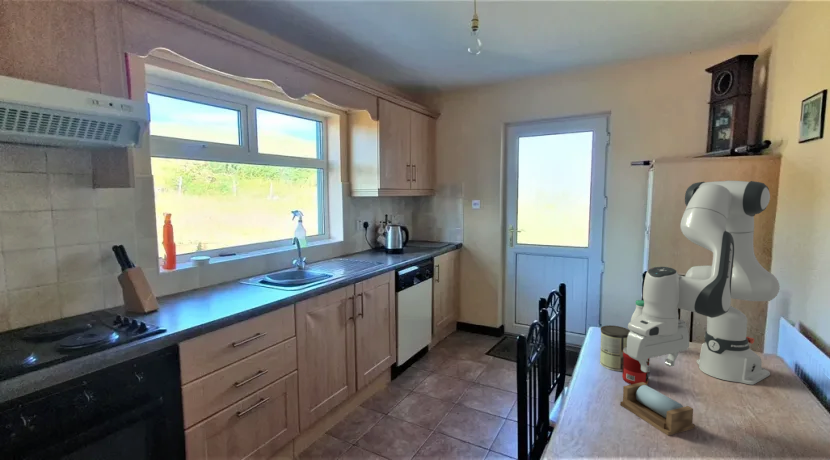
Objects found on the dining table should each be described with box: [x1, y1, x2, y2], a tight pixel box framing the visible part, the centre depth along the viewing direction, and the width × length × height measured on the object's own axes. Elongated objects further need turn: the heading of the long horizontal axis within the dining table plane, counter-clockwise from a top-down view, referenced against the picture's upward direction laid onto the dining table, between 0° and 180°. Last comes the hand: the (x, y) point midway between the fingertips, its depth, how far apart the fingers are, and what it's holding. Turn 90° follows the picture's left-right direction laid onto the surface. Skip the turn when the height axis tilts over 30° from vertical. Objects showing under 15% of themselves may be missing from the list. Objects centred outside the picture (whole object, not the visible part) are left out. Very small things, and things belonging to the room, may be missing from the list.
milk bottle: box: [630, 299, 644, 331], centre depth 162 cm, size 8×8×20 cm
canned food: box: [621, 347, 651, 385], centre depth 133 cm, size 8×8×11 cm
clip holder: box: [619, 382, 696, 437], centre depth 113 cm, size 10×16×6 cm, turn 18°
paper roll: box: [636, 384, 684, 418], centre depth 113 cm, size 6×11×6 cm, turn 18°
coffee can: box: [599, 325, 630, 372], centre depth 145 cm, size 10×10×14 cm
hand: (657, 368), depth 112 cm, fingers open, 8 cm apart
